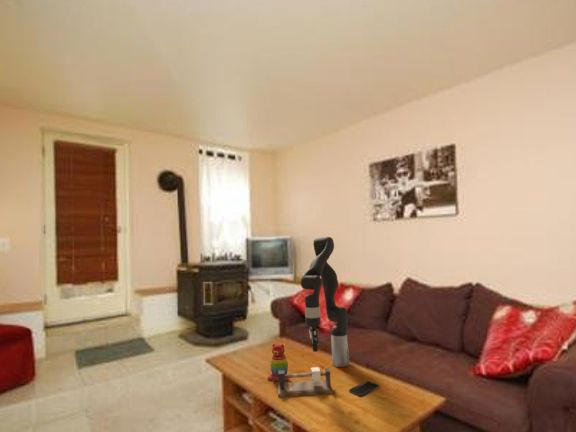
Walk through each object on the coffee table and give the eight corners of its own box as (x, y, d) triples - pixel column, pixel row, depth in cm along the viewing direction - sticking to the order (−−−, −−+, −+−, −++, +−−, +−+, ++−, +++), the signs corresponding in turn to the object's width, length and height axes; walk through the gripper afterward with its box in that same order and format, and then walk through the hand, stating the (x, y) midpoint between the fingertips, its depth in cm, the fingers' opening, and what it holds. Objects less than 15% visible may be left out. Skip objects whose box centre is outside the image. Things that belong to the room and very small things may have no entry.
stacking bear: (266, 380, 186) (264, 346, 187) (274, 373, 195) (273, 340, 196) (284, 383, 181) (282, 348, 182) (292, 375, 190) (290, 342, 191)
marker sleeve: (319, 377, 176) (318, 367, 176) (320, 381, 171) (320, 371, 171) (311, 377, 176) (310, 367, 176) (312, 381, 171) (312, 371, 171)
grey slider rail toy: (328, 382, 179) (327, 364, 180) (332, 393, 167) (331, 373, 168) (277, 386, 178) (277, 367, 178) (278, 397, 166) (277, 377, 166)
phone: (347, 390, 168) (367, 380, 178) (348, 392, 168) (367, 383, 178) (360, 395, 162) (380, 385, 172) (360, 398, 162) (380, 387, 172)
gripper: (322, 318, 168) (323, 353, 167) (318, 312, 182) (319, 343, 181) (306, 319, 168) (308, 353, 167) (304, 312, 182) (305, 344, 181)
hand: (314, 348), depth 174 cm, fingers open, 8 cm apart
